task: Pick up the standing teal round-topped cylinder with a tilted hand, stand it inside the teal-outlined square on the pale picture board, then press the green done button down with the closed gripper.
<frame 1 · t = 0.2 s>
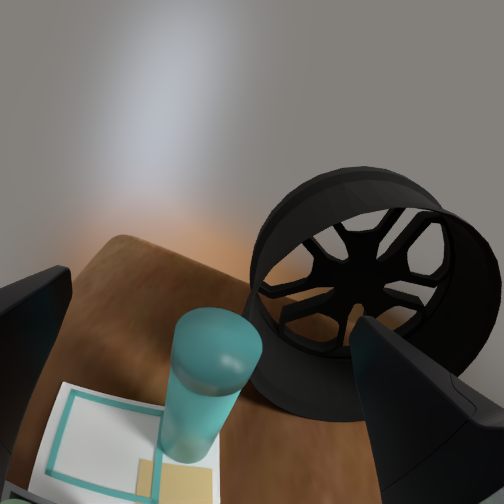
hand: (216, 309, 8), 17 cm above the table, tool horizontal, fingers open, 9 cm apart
teal round-topped cylinder: (185, 442, 18), point 1 cm above the table, touching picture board
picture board: (122, 500, 13), on the table
car wheel rim: (323, 381, 28), on the table
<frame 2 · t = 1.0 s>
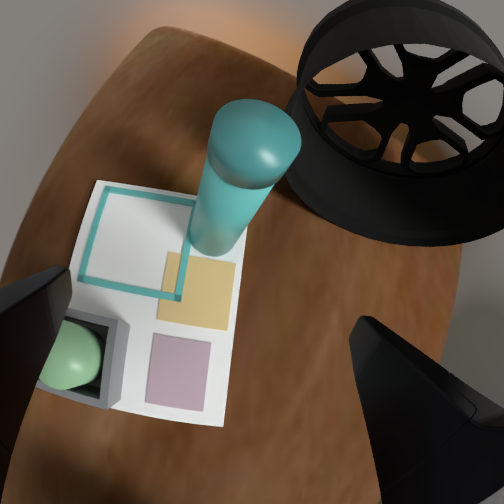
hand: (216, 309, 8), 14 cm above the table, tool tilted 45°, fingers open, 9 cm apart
button housing: (89, 354, 18), resting on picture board
teal round-topped cylinder: (213, 233, 23), point 1 cm above the table, touching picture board
done button: (70, 354, 15), point 5 cm above the table, slide at 0.0 cm
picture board: (147, 298, 21), on the table
car wheel rim: (355, 189, 29), on the table
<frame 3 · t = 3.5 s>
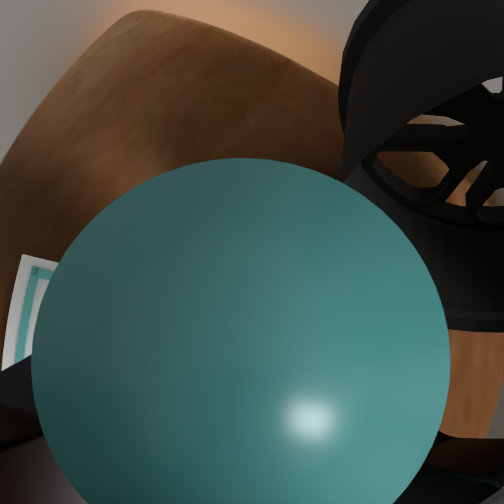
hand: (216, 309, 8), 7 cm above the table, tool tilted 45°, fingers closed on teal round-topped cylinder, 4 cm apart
teal round-topped cylinder: (200, 354, 13), point 1 cm above the table, touching gripper, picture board
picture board: (110, 441, 12), on the table
car wheel rim: (408, 249, 19), on the table
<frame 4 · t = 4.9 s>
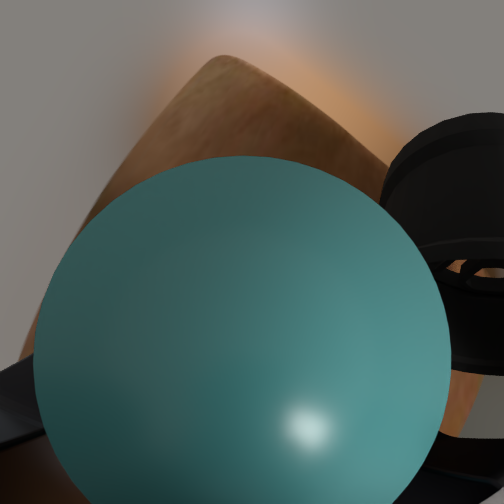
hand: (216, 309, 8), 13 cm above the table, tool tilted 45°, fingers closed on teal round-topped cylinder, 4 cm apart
teal round-topped cylinder: (200, 353, 13), point 8 cm above the table, touching gripper
car wheel rim: (409, 301, 26), on the table
when the fingers open (8 cm above the table, at t = 6.3 s): teal round-topped cylinder drops 1 cm, resting on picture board.
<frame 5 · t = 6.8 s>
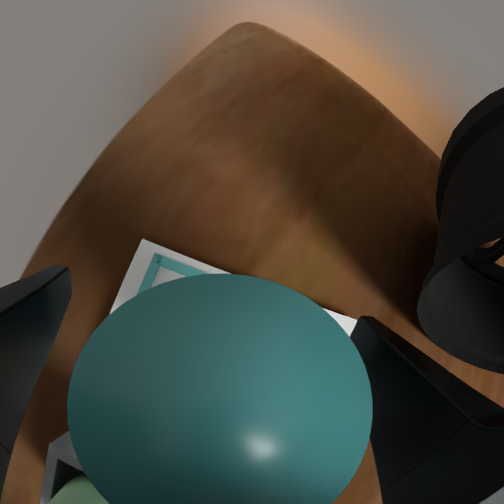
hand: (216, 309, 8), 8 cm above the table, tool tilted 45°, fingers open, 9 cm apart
button housing: (114, 483, 11), resting on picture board
teal round-topped cylinder: (199, 354, 14), point 1 cm above the table, touching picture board
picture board: (201, 429, 14), on the table
car wheel rim: (459, 296, 21), on the table
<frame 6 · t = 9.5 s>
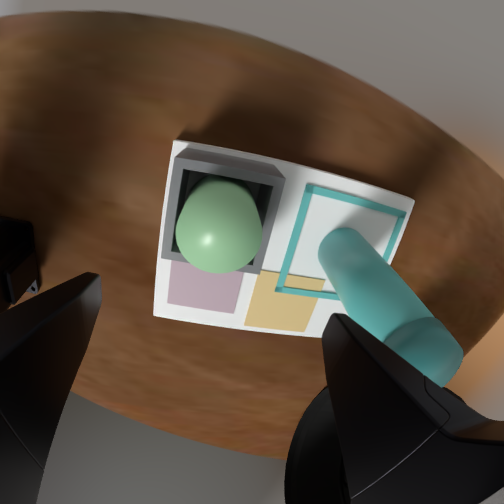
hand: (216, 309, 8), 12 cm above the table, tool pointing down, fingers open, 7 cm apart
button housing: (221, 197, 19), resting on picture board
teal round-topped cylinder: (341, 251, 21), point 1 cm above the table, touching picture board
done button: (219, 218, 15), point 5 cm above the table, slide at 0.0 cm
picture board: (281, 255, 22), on the table
car wheel rim: (349, 400, 31), on the table
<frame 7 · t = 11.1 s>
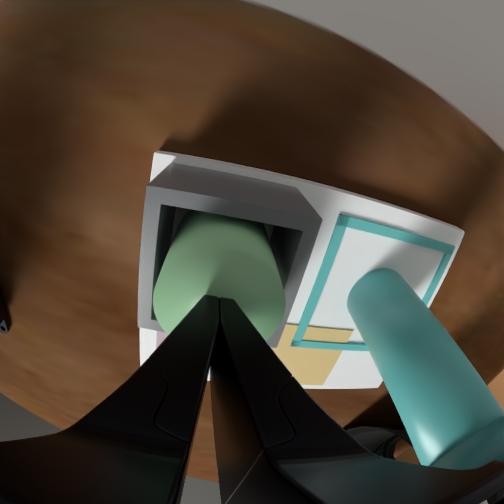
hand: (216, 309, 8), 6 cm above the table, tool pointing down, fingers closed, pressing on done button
button housing: (221, 232, 13), resting on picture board
teal round-topped cylinder: (376, 296, 16), point 1 cm above the table, touching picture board
done button: (220, 270, 10), point 4 cm above the table, slide at 0.4 cm, touching gripper
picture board: (300, 301, 16), on the table
car wheel rim: (364, 439, 26), on the table
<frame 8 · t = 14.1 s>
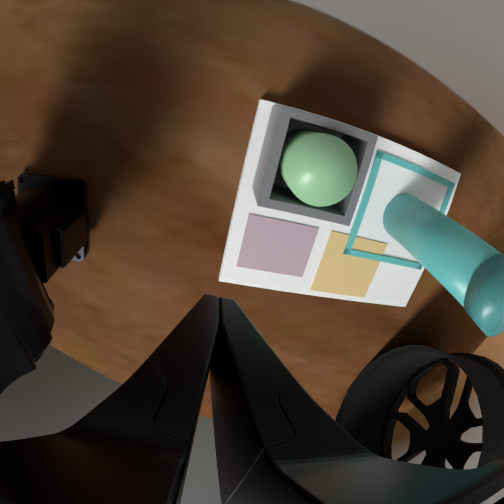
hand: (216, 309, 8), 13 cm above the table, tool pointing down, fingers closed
button housing: (302, 157, 19), resting on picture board
teal round-topped cylinder: (402, 215, 21), point 1 cm above the table, touching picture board
done button: (312, 163, 17), point 3 cm above the table, slide at 1.4 cm
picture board: (349, 218, 22), on the table
car wheel rim: (390, 375, 31), on the table
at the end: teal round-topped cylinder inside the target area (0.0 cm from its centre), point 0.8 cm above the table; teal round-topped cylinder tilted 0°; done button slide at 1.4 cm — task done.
